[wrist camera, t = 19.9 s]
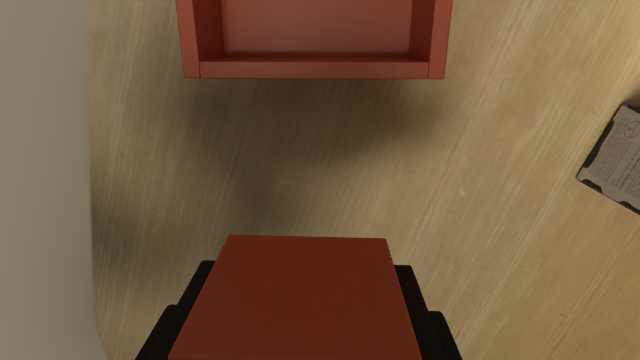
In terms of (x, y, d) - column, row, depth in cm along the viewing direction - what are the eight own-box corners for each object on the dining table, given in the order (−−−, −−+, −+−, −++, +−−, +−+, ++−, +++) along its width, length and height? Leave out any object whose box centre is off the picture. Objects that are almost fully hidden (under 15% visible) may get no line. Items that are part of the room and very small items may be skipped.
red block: (237, 356, 12) (191, 520, 8) (228, 233, 11) (165, 357, 7) (375, 360, 12) (401, 526, 8) (386, 237, 11) (425, 363, 7)
